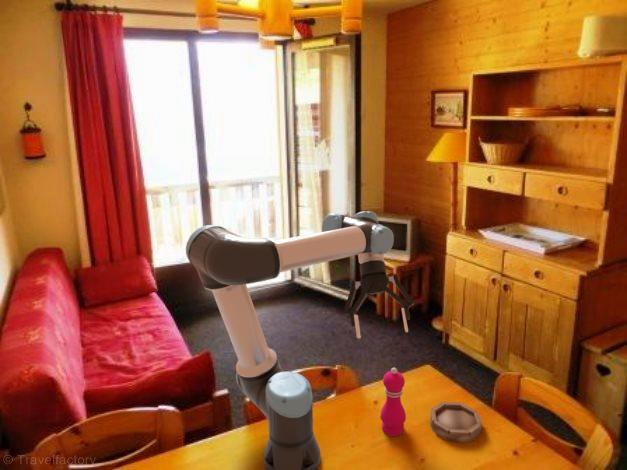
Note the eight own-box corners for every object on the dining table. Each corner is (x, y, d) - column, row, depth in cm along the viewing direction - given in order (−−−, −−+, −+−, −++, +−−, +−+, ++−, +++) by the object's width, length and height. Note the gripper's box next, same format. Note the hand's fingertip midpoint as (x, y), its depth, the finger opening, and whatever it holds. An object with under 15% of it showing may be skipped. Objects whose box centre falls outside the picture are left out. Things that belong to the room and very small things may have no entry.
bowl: (433, 440, 130) (433, 431, 129) (428, 409, 143) (428, 400, 143) (485, 444, 128) (486, 434, 127) (475, 412, 142) (475, 403, 141)
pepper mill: (405, 438, 131) (407, 376, 126) (379, 436, 133) (380, 374, 127) (405, 422, 138) (407, 362, 133) (381, 419, 140) (381, 360, 134)
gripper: (414, 258, 139) (427, 330, 133) (333, 271, 144) (341, 341, 138) (413, 252, 132) (427, 327, 126) (328, 266, 137) (337, 339, 131)
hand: (382, 335), depth 132 cm, fingers open, 13 cm apart
